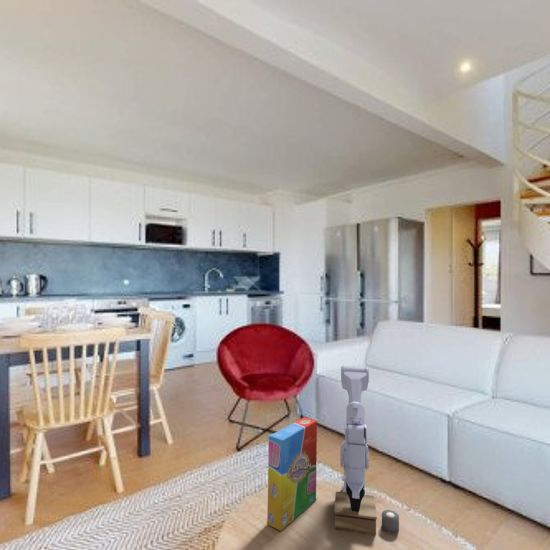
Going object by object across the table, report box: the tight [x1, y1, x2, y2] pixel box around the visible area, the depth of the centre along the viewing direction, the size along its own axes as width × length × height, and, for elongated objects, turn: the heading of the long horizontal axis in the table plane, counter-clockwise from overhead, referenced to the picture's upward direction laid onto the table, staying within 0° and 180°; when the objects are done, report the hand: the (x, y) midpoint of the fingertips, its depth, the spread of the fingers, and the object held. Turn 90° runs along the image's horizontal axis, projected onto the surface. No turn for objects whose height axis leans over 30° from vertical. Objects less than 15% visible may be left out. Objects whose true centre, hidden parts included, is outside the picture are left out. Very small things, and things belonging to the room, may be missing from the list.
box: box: [334, 514, 377, 535], centre depth 117 cm, size 12×12×4 cm
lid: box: [333, 490, 378, 520], centre depth 117 cm, size 12×12×1 cm
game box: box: [266, 417, 318, 531], centre depth 121 cm, size 21×6×27 cm, turn 143°
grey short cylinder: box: [381, 509, 400, 535], centre depth 113 cm, size 5×5×4 cm
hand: (355, 509), depth 114 cm, fingers closed on lid, 2 cm apart
